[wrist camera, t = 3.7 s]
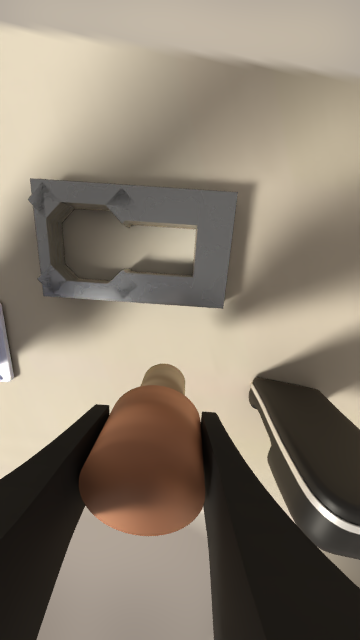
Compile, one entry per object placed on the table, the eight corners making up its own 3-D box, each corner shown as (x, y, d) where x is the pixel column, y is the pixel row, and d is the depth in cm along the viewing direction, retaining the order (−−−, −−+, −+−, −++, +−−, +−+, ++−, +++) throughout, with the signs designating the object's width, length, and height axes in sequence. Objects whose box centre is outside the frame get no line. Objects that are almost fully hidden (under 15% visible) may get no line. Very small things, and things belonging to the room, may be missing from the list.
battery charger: (239, 406, 21) (297, 565, 10) (251, 374, 20) (329, 511, 9) (306, 420, 21) (432, 588, 10) (320, 388, 20) (478, 538, 9)
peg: (131, 407, 14) (82, 529, 8) (131, 348, 13) (74, 435, 6) (194, 413, 14) (199, 541, 8) (201, 354, 13) (211, 448, 6)
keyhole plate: (54, 291, 18) (39, 295, 16) (44, 187, 16) (25, 178, 14) (219, 303, 18) (223, 308, 16) (231, 200, 16) (237, 192, 14)
